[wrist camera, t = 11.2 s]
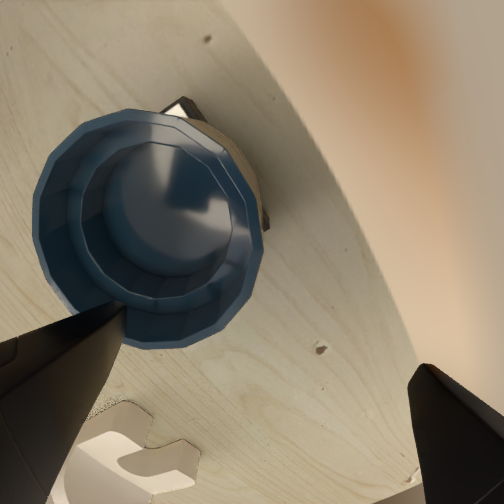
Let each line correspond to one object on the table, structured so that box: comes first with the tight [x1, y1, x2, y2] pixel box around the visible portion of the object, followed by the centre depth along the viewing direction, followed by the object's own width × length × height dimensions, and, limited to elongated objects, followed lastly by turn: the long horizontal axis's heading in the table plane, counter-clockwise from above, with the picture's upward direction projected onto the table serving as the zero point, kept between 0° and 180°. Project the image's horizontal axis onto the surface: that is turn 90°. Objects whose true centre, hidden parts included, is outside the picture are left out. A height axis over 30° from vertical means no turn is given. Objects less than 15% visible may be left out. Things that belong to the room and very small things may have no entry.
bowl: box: [32, 109, 264, 350], centre depth 13 cm, size 9×9×5 cm
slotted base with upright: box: [51, 401, 200, 504], centre depth 22 cm, size 10×18×11 cm, turn 129°
